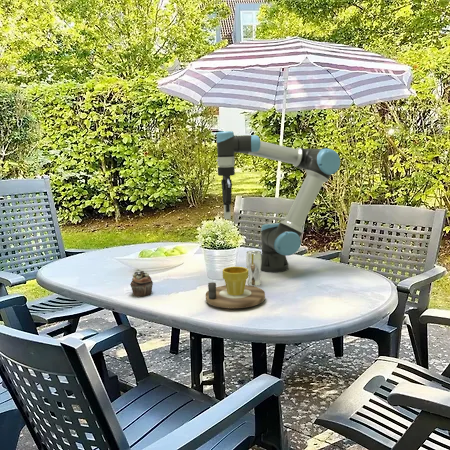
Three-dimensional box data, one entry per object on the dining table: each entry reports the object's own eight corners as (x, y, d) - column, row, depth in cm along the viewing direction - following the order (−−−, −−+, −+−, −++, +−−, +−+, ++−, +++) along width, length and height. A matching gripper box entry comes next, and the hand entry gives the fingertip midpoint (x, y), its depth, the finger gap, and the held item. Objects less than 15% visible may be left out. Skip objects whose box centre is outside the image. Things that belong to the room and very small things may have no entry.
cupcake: (158, 293, 206) (156, 271, 204) (139, 299, 199) (138, 275, 198) (144, 289, 213) (143, 267, 211) (126, 294, 206) (125, 272, 204)
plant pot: (254, 293, 192) (253, 269, 190) (234, 298, 185) (233, 274, 184) (237, 287, 200) (236, 264, 198) (217, 292, 193) (217, 269, 192)
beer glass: (244, 283, 217) (243, 251, 214) (257, 281, 220) (257, 249, 217) (250, 287, 211) (250, 254, 208) (264, 285, 213) (264, 252, 211)
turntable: (224, 286, 209) (223, 268, 208) (274, 293, 197) (274, 274, 196) (194, 302, 189) (193, 283, 187) (248, 311, 177) (247, 291, 176)
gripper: (215, 166, 218) (216, 217, 222) (220, 167, 205) (221, 221, 209) (231, 165, 219) (232, 216, 223) (237, 166, 206) (238, 220, 210)
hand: (227, 218), depth 216 cm, fingers closed
